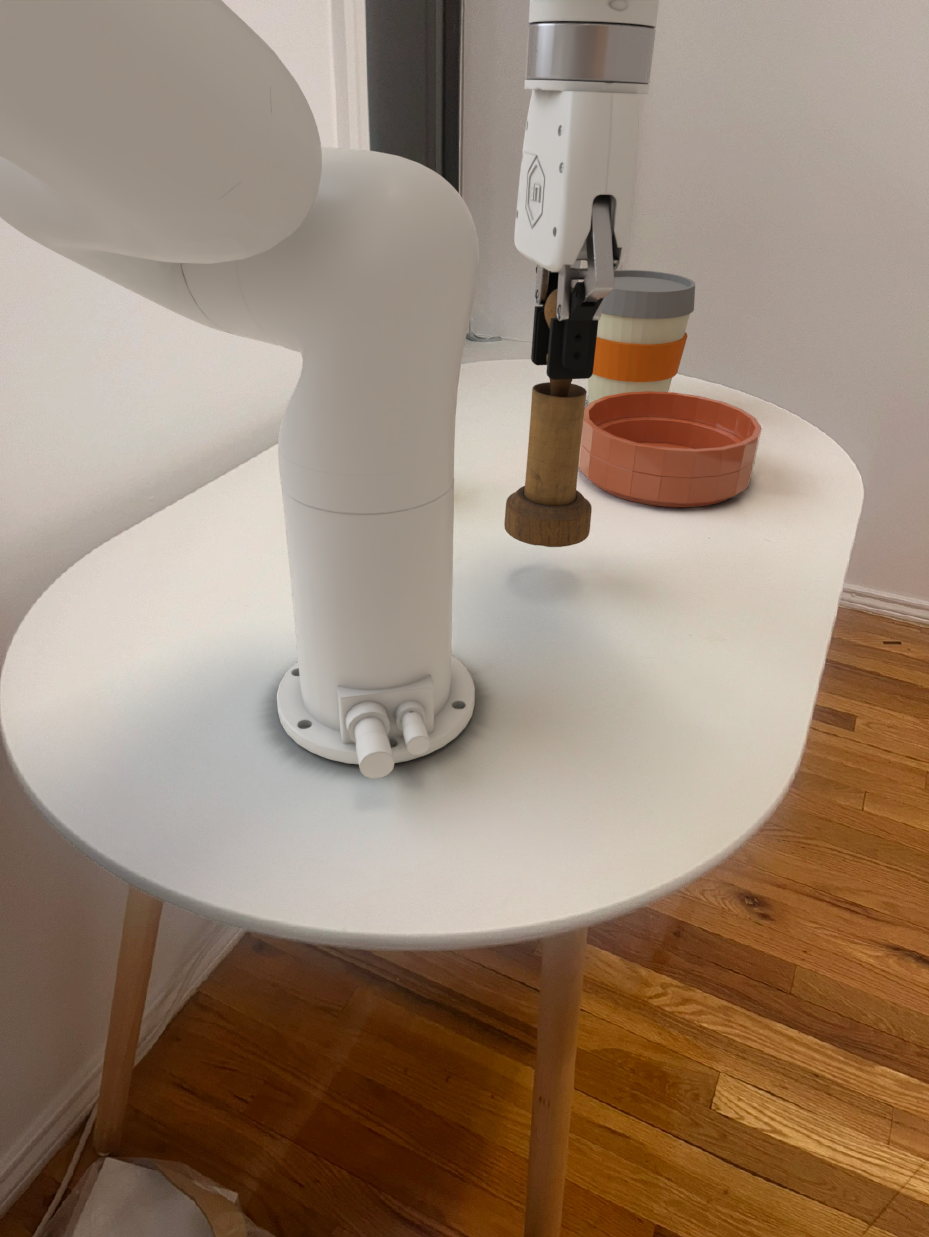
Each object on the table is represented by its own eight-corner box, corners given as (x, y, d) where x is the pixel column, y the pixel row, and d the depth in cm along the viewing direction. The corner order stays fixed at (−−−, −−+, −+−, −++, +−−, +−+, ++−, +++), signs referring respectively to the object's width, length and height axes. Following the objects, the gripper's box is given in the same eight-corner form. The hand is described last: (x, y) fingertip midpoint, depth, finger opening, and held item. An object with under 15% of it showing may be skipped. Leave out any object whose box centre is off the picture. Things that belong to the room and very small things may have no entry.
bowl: (781, 503, 85) (795, 444, 82) (613, 517, 81) (621, 456, 78) (701, 440, 99) (710, 387, 96) (556, 450, 96) (560, 395, 92)
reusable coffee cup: (679, 399, 111) (699, 274, 103) (675, 432, 101) (696, 296, 93) (581, 389, 114) (592, 266, 106) (566, 420, 104) (578, 287, 96)
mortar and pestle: (588, 516, 71) (615, 282, 62) (590, 551, 66) (620, 301, 57) (506, 510, 72) (521, 277, 63) (501, 545, 66) (517, 295, 57)
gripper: (493, 64, 59) (481, 343, 68) (573, 59, 45) (544, 408, 55) (599, 68, 61) (573, 341, 70) (707, 65, 47) (656, 404, 56)
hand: (561, 368), depth 62 cm, fingers closed on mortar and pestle, 2 cm apart
